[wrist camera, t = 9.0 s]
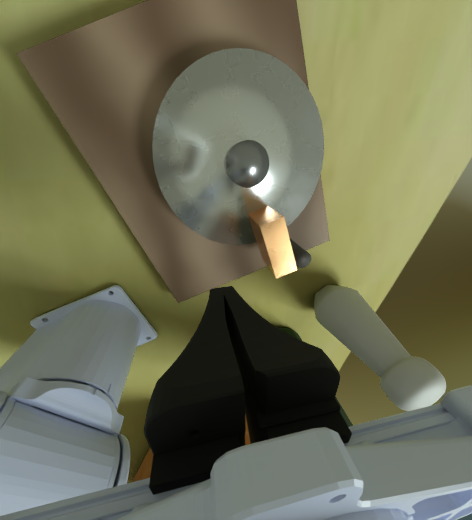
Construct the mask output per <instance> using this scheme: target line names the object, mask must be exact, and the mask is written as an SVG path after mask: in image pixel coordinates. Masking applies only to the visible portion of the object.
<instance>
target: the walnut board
mask: <svg viewBox="0 0 472 520" xmlns="http://www.w3.org/2000/svg"><path fill="white" fill-rule="evenodd" d="M232 48H245V49H253V50H257V51H261V52H264V53H267V54H269V55H271V56H273V57H276V58H277V59H279V60H280V61H282V62H283V63H285V64H286V65H288V66H289V67H290V68H291V69H292V70H293V71H294V72H295V73H296V74H297V75H298V76H299V77H300V79H301V80H302V81H303V82H304V83H305V85H306V86H307V88H308V81H307V74H306V66H305V59H304V52H303V45H302V38H301V31H300V23H299V16H298V9H297V2H296V0H147V1H144V2H142V3H139V4H137V5H135V6H132V7H130V8H127V9H125V10H122V11H120V12H117V13H115V14H112V15H110V16H107V17H105V18H102V19H100V20H97V21H95V22H92V23H90V24H88V25H85V26H83V27H80V28H78V29H75V30H73V31H70V32H68V33H65V34H63V35H60V36H58V37H55V38H53V39H50V40H48V41H45V42H43V43H41V44H38V45H36V46H33V47H31V48H28V49H26V50H23V51H21V52H18V53H16V54H17V55H18V57H19V58H20V60H21V62H22V63H23V65H24V66H25V68H26V69H27V71H28V72H29V74H30V75H31V77H32V79H33V80H34V82H35V83H36V85H37V86H38V88H39V89H40V91H41V92H42V94H43V96H44V97H45V99H46V100H47V102H48V103H49V105H50V106H51V108H52V109H53V111H54V112H55V114H56V116H57V117H58V119H59V120H60V122H61V123H62V125H63V126H64V128H65V129H66V131H67V133H68V134H69V136H70V137H71V139H72V140H73V142H74V143H75V145H76V146H77V148H78V149H79V151H80V153H81V154H82V156H83V157H84V159H85V160H86V162H87V163H88V165H89V166H90V168H91V170H92V171H93V173H94V174H95V176H96V177H97V179H98V180H99V182H100V183H101V185H102V187H103V188H104V190H105V191H106V193H107V194H108V196H109V197H110V199H111V200H112V202H113V203H114V205H115V207H116V208H117V210H118V211H119V213H120V214H121V216H122V217H123V219H124V220H125V222H126V224H127V225H128V227H129V228H130V230H131V231H132V233H133V234H134V236H135V237H136V239H137V240H138V242H139V244H140V245H141V247H142V248H143V250H144V251H145V253H146V254H147V256H148V257H149V259H150V261H151V262H152V264H153V265H154V267H155V268H156V270H157V271H158V273H159V274H160V276H161V277H162V279H163V281H164V282H165V284H166V285H167V287H168V288H169V290H170V291H171V293H172V294H173V296H174V298H175V299H176V301H177V302H178V303H179V302H182V301H184V300H187V299H189V298H191V297H194V296H196V295H199V294H201V293H203V292H206V291H208V290H211V289H213V288H216V287H218V286H220V285H223V284H225V283H228V282H230V281H233V280H235V279H237V278H240V277H242V276H245V275H247V274H250V273H252V272H254V271H257V270H259V269H262V268H264V267H267V265H266V263H265V262H264V260H263V259H262V256H261V253H260V250H259V247H258V244H257V242H256V243H251V244H242V245H232V244H224V243H219V242H216V241H213V240H210V239H208V238H205V237H203V236H201V235H200V234H198V233H196V232H195V231H193V230H192V229H190V228H189V227H188V226H187V225H185V224H184V223H183V222H182V221H181V220H180V219H179V218H178V217H177V215H176V214H175V213H174V212H173V210H172V209H171V208H170V206H169V204H168V203H167V201H166V199H165V198H164V196H163V193H162V191H161V189H160V187H159V184H158V180H157V177H156V174H155V169H154V163H153V151H152V142H153V131H154V126H155V121H156V117H157V114H158V111H159V108H160V105H161V103H162V101H163V99H164V97H165V95H166V93H167V91H168V89H169V88H170V87H171V85H172V84H173V82H174V81H175V80H176V78H177V77H178V76H179V75H180V74H181V73H182V72H183V71H184V70H185V69H186V68H187V67H189V66H190V65H191V64H193V63H194V62H195V61H197V60H198V59H200V58H202V57H204V56H206V55H208V54H210V53H213V52H217V51H220V50H223V49H232ZM308 90H309V88H308ZM287 230H288V234H289V238H290V242H291V246H292V251H293V255H294V259H295V263H296V266H297V267H298V268H303V267H306V266H307V265H308V264H309V263H310V261H311V255H310V254H309V253H308V252H307V251H305V250H308V249H310V248H313V247H315V246H317V245H320V244H322V243H325V242H327V241H330V238H329V231H328V224H327V217H326V210H325V203H324V195H323V188H322V181H321V174H320V177H319V180H318V183H317V186H316V188H315V191H314V193H313V195H312V197H311V199H310V200H309V202H308V204H307V205H306V207H305V208H304V210H303V211H302V212H301V213H300V215H299V216H298V217H297V218H296V219H295V220H294V221H293V222H292V223H291V224H290V225H288V226H287Z"/></svg>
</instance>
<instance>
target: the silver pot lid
mask: <svg viewBox="0 0 472 520" xmlns="http://www.w3.org/2000/svg"><path fill="white" fill-rule="evenodd" d="M152 151H153V163H154V169H155V174H156V177H157V180H158V184H159V187H160V189H161V191H162V193H163V196H164V198H165V199H166V201H167V203H168V204H169V206H170V208H171V209H172V210H173V212H174V213H175V214H176V215H177V217H178V218H179V219H180V220H181V221H182V222H183V223H184V224H185V225H187V226H188V227H189V228H190V229H192V230H193V231H195V232H196V233H198V234H200V235H201V236H203V237H205V238H208V239H210V240H213V241H216V242H219V243H224V244H232V245H242V244H251V243H256V242H257V244H258V247H259V250H260V253H261V256H262V259H263V260H264V262H265V263H266V265H267V266H268V268H269V269H270V271H271V272H272V273H273V275H274V276H275V278H279V277H281V276H284V275H286V274H289V273H291V272H294V271H296V270H297V267H296V263H295V259H294V255H293V251H292V246H291V242H290V238H289V234H288V230H287V226H288V225H290V224H291V223H292V222H293V221H294V220H295V219H296V218H297V217H298V216H299V215H300V213H301V212H302V211H303V210H304V208H305V207H306V205H307V204H308V202H309V200H310V199H311V197H312V195H313V193H314V191H315V188H316V186H317V183H318V180H319V177H320V173H321V169H322V163H323V156H324V137H323V128H322V123H321V118H320V115H319V112H318V108H317V106H316V103H315V101H314V99H313V97H312V95H311V93H310V91H309V90H308V88H307V86H306V85H305V83H304V82H303V81H302V80H301V79H300V77H299V76H298V75H297V74H296V73H295V72H294V71H293V70H292V69H291V68H290V67H289V66H288V65H286V64H285V63H283V62H282V61H280V60H279V59H277V58H276V57H273V56H271V55H269V54H267V53H264V52H261V51H257V50H253V49H245V48H232V49H223V50H220V51H217V52H213V53H210V54H208V55H206V56H204V57H202V58H200V59H198V60H197V61H195V62H194V63H193V64H191V65H190V66H189V67H187V68H186V69H185V70H184V71H183V72H182V73H181V74H180V75H179V76H178V77H177V78H176V80H175V81H174V82H173V84H172V85H171V87H170V88H169V89H168V91H167V93H166V95H165V97H164V99H163V101H162V103H161V105H160V108H159V111H158V114H157V117H156V121H155V126H154V131H153V142H152Z"/></svg>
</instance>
